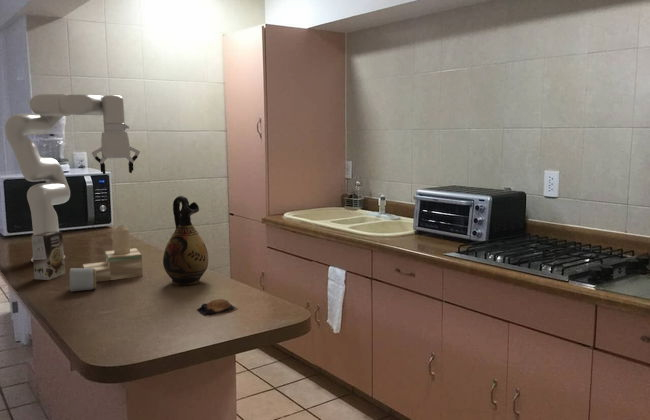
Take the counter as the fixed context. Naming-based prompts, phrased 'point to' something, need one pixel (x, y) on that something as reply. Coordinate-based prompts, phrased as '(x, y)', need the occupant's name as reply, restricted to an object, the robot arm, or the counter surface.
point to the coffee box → (48, 255)
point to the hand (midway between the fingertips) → (117, 173)
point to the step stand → (118, 266)
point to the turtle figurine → (216, 307)
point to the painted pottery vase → (185, 247)
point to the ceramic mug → (82, 279)
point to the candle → (121, 240)
